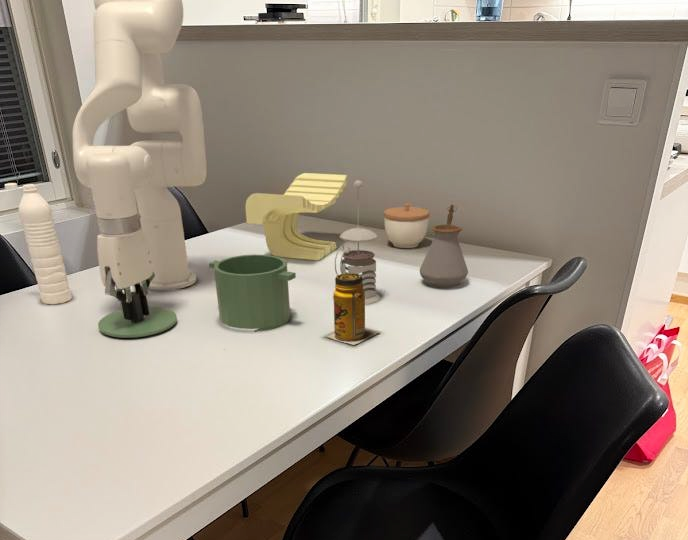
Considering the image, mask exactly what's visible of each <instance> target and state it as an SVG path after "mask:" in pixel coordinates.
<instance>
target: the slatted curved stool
mask: <svg viewBox="0 0 688 540" xmlns="http://www.w3.org/2000/svg"><path fill="white" fill-rule="evenodd" d="M347 186H348V174H335V173H334V174H332V173H314V172H313V173H312V172H311V173H310V172H304V173H301V174H299V175H297V176H296V177H295V178H294V179H293V181H292V182H291V183H290V184H289V186H288V188H287V189H286V190H285V192H284V194H277V193H263V192H262V193H261V192H254V193H252V194H250V195H249V196H248V197H247V198H246V201H245V218H246V219H245V220H246V224H249V225H262V227H263V230H264V235H265V243H266V247H267V250H268V251H269V252H270V254H271V256H276V257H279V258H288V259H297V260H298V259H300V260H310V261H320V260H321V259H323V258H324V257H326V256H327V255H329V254H330V253H331V252H334V251H335V250H336V249H338V247H337V245H336V241H329V240H323V239H322V240H320V239H315V238H312V237H309V236H305V235H304V234H302V233H301V232H300V231H299V230H298V227H297V222H298V217H299V214H300V213H312V214H313V213H314V214H315V213H316V214H317V213H319V212H322V211H323V210H325V209H327V208H328V207H330V206H332V205H334V204H336V203H337V199H338V198H340V196H341V195H340V194H341V193H343V192H344V188H346V187H347Z"/></svg>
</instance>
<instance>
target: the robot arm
mask: <svg viewBox="0 0 688 540" xmlns="http://www.w3.org/2000/svg"><path fill="white" fill-rule="evenodd" d="M93 4H94V9H95V11H94V14H93V48H94V49H93V50H94V79H95V84H94V88H93V90H92V91H91V92H90V94H89V95H88V96H87V97H86V99H85V100H84V101H83V103H82V104H81V106H80V108H79V110H78V111H77V113H76V116H75V119H74V122H73V125H72V158H73V159H72V161H73V168H74V172H75V175H76V178H77V180H78V181H79V182H80V184H81V185H82V186H84V187H86V188H88V189H90V190H91V195H92V196H91V197H92V200H93V201H92V202H93V205H94V210H95V214H96V219H97V224H98V229H99V234H98V235H96V236H97V237H96V249H97V262H98V267H99V274H100V279H101V283H102V285H103V286H104V287H105V288H104V294H105V296H110V297H113V298H115V299H116V300H117V301H118V302H120V304H121V305H120V306H121V310H123V315H124V318H125V319H127V320H131V321H137V320H138V317H137V312H136V306H135V302H134V301H132V297H131V292H132V291H131V287H132V289H133V292H139V294H140V299H141V305H142V310H143V315H146V316H147V315H149V309H148V306H149V303H148V298H147V296H148V295H149V289H150V288H151V289H157V290H158V289H159V290H167V289H168V290H170V289H175V290H179V289H184V288H188V287H190V286H193V285H194V284H195V283H196V282H197V275H196V274H195V273H193V272H192V271H190V268H189V261H188V254H187V248H186V240H185V231H184V226H183V218H182V211H181V210H182V209H181V206H180V204H179V201H178V200H177V198H176V197H175V196H174V195H173V193H172V192H171V191H170V189H168V188H173V187H179V188H180V187H198V186H201V185H203V184H204V183H205V181H206V180H207V179H206V178H207V174H208V173H207V172H208V171H207V154H206V153H207V152H206V143H205V131H204V120H203V111H202V104H201V100H200V97H199V95H198V92H197V91H196V89H195V88H194V87H192V86H190V85H189V84H184V83H171V84H170V83H166V82H165V79H164V78H165V77H164V70H163V69H164V68H163V61H162V57H161V55H160V54H166V53H169V52H170V51H172V50H173V48H174V46H175V44H176V42H177V39H178V37H179V34H180V32H181V29H182V27H183V23H184V3H183V0H93ZM125 110H126V114H127V115H126V116H127V119H128V123H129V125H130V127H131V128H132V130H134V131H135V132H137V133H142V134H179V135H181V137H182V139H167V140H166V139H152V140H151V139H150V140H149V139H148V140H147V139H146V140H140V141H135V142H133V143H131V144H130V145H94V139H95V136H96V133H97V131H98V129H99V128H100V127H101V125H103V123H105V122H106V121H107V120H109V119H110V118H111V117H113V116H114V115H117V114H118V113H120V112H122V111H125Z"/></svg>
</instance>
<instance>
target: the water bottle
mask: <svg viewBox="0 0 688 540" xmlns="http://www.w3.org/2000/svg"><path fill="white" fill-rule="evenodd" d="M18 186H19V185H18V183H16V182H8V183H5V184H4V189H5V190H7V191H13V190H17V189H19V187H18ZM22 187H23V189H22V191H23V195H22V197H21V199H20V202H19V205H18V215H19V218H20V221H21V225H22V229H23V233H24V237H25V240H26V245H27V248H28V252H29V256H30V260H31V264H32V266H33V267H32V268H33V271H34V276H35V279H36V282H37V288H38V291H39V295H40V299H41V303H43V304H46V305H57V304H64V303H67V302H70V301H71V299H72V297H73V296H72V292H71V288H70V284H69V283H70V282H69V280H68V275H67V271H66V267H65V263H64V258H63V255H62V253H61V252H62V250H61V246H60V243H59V238H58V234H57V230H56V227H55V226H56V225H55V223H54V222H55V221H54V216H53V211H52V208H51V206H50V204H49V202H47V200H45V199H44V197H43V196H42V195H40V193H39V192H38V191H37V188H36V184H33V183H28V184H23V185H22Z"/></svg>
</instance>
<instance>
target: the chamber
mask: <svg viewBox="0 0 688 540" xmlns="http://www.w3.org/2000/svg"><path fill="white" fill-rule="evenodd" d="M208 268H209V269H213V271H214V281H215V288H216V297H217V298H216V299H217V307H218V314H219V320H220V322H221V323H222V324H224V325H226V326H228V327H232V328H236V329H243V330H244V329H245V330H254V332H260V331H268V330H271V329H272V330H273V329H277V328H279V327H281V326H283V325H285V324H287V323H288V322H289V321H290V318H291V316H290V315H291V309H290V292H289V290H290V289H289V282H290V281H292V280H294V279H296V278H297V276H296V275H297V274H296V272H292V271H288V262H287V261H286V260H285V259H284V258H283V257H277V256H274V255H269V254H241V255H235V256H230V257H227V258H223V259H221V260H213V261H211V262H208ZM255 329H256V330H255Z"/></svg>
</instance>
